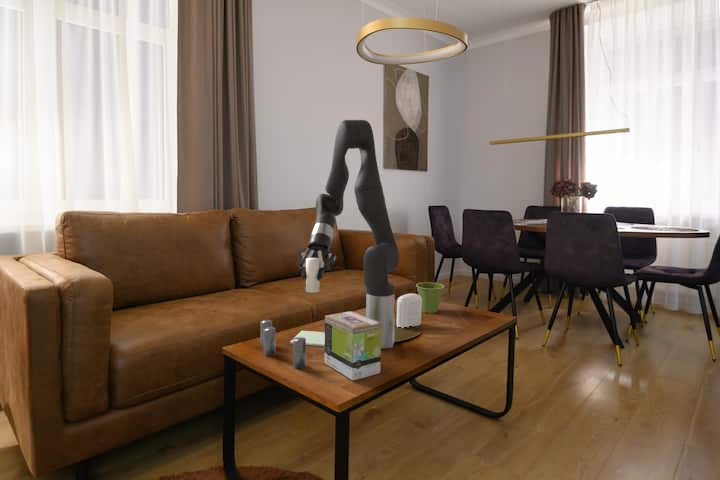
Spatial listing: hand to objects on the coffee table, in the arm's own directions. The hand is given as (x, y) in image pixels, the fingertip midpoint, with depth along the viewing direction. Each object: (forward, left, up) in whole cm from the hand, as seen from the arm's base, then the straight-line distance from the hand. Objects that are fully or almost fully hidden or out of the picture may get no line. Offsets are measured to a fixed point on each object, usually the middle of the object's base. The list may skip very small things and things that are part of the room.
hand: (311, 278), depth 145 cm
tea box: (-18, +19, -22) cm, 34 cm away
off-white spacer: (0, -2, -5) cm, 5 cm away
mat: (0, -2, -21) cm, 21 cm away
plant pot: (-38, -46, -22) cm, 63 cm away
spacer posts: (+1, +14, -21) cm, 26 cm away
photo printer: (-31, -24, -22) cm, 45 cm away
